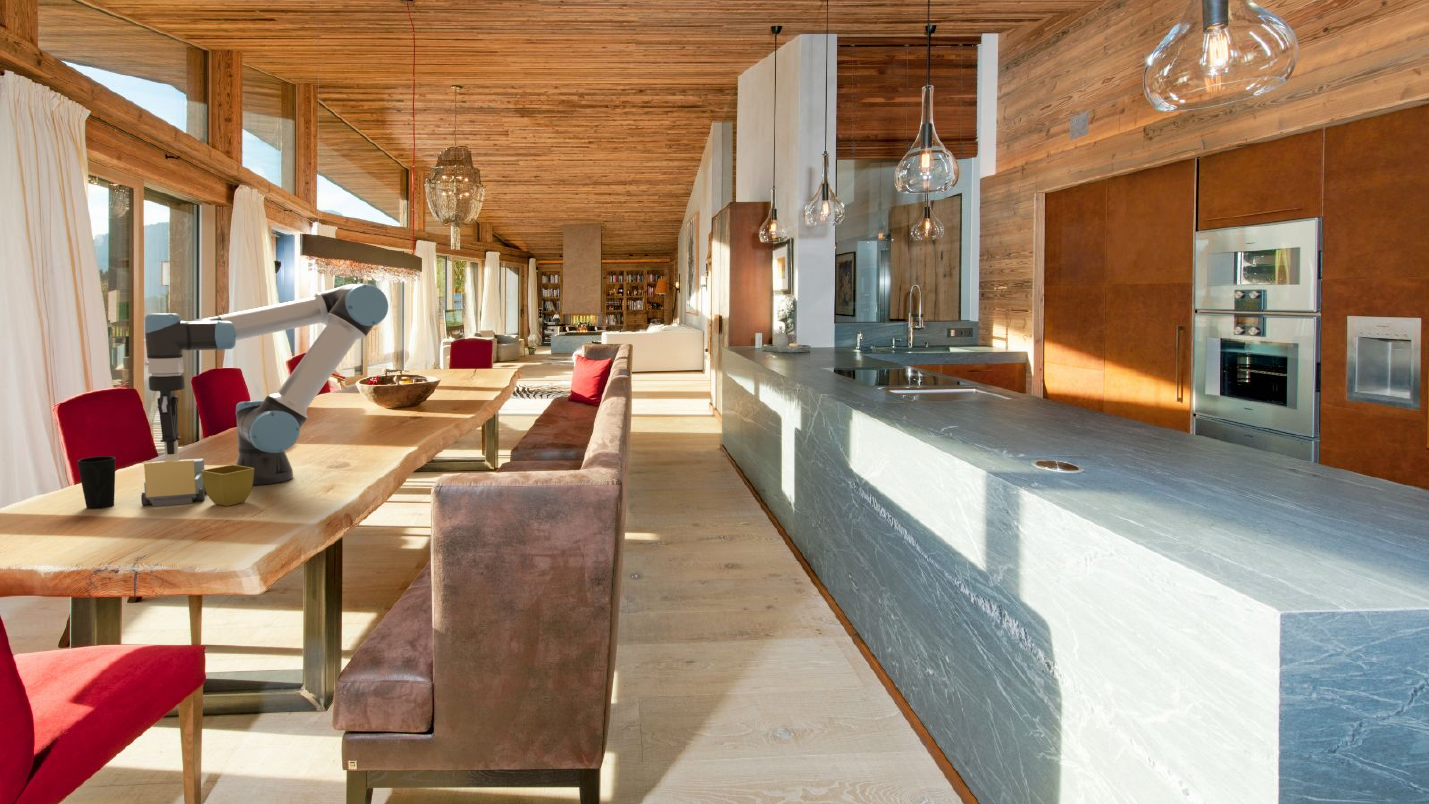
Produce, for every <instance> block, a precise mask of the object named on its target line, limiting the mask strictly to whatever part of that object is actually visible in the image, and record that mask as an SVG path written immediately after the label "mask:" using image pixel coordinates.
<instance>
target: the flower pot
mask: <svg viewBox="0 0 1429 804" xmlns="http://www.w3.org/2000/svg"><path fill="white" fill-rule="evenodd" d="M201 473H202V478H203V483H204V488H205V491H206V493H205V494H206V496H207V497H208V498H209V500H211V502H212V503H213V504H215V505H220V506H224V507H229V506H233V505H237V504H242V503H245V502H246V500H247V499H248V498H249V496H250V494H251V493H252V489H253V486H254V485H253V477H254V468H251V467H245V466H238V465H236V464H229V465H222V466H219V467H218V466H217V467H212V468H206V469H204V470H202V471H201Z"/></svg>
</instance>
